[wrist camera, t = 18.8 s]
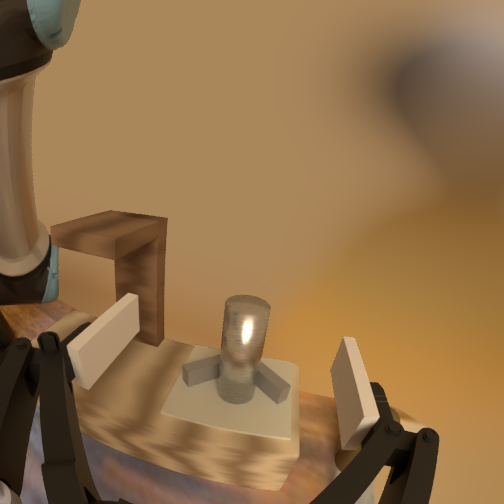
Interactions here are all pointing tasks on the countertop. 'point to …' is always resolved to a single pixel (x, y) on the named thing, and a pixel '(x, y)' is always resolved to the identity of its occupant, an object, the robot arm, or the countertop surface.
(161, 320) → the brown wooden l bracket
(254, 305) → the axle
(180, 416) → the v cradle
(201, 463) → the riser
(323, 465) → the countertop surface
